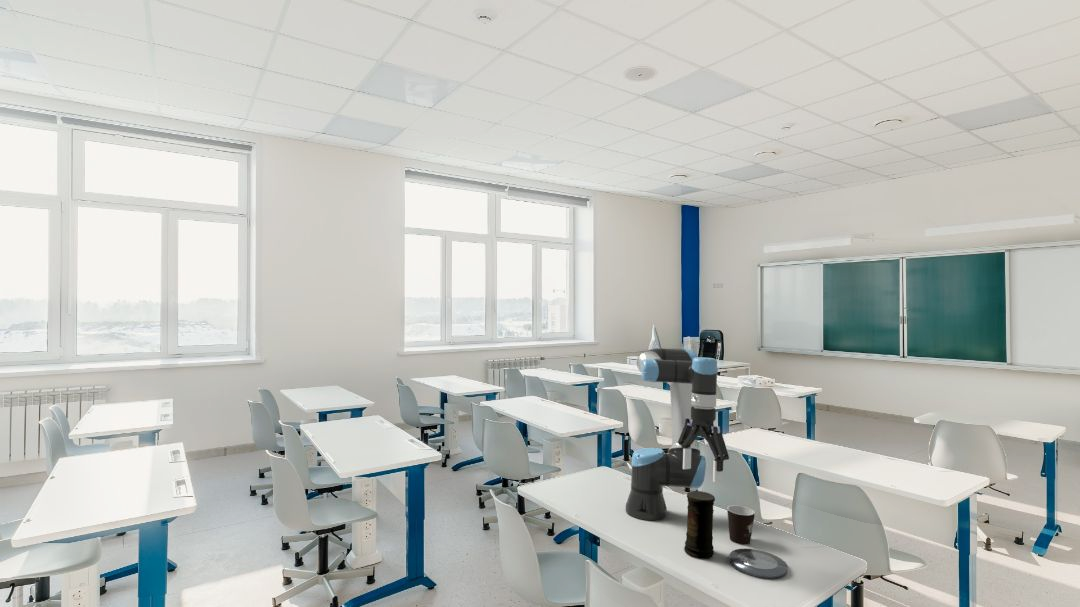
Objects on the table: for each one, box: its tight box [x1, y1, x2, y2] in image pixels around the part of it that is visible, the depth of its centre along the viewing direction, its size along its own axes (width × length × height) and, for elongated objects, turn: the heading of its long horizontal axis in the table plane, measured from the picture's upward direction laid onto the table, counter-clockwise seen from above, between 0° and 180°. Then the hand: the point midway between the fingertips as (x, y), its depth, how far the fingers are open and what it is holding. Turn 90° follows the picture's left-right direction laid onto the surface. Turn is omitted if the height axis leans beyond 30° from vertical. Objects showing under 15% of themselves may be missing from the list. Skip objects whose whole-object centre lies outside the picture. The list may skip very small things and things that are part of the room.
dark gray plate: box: [728, 548, 788, 580], centre depth 156 cm, size 16×16×2 cm
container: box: [683, 490, 716, 560], centre depth 164 cm, size 9×9×18 cm
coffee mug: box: [726, 504, 756, 546], centre depth 174 cm, size 12×9×10 cm
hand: (701, 475), depth 164 cm, fingers open, 13 cm apart
